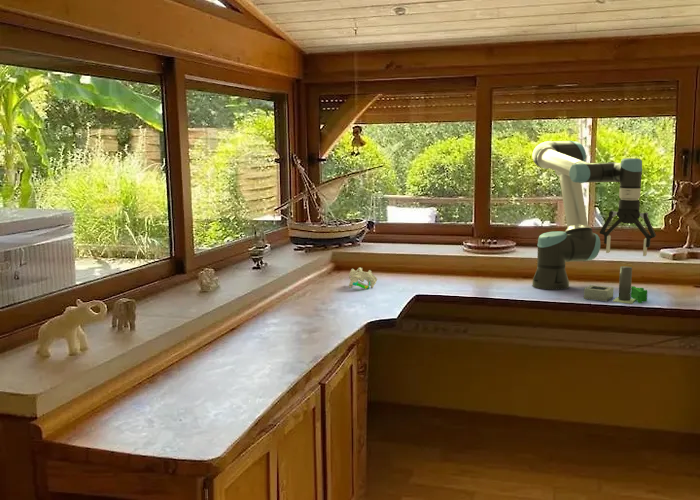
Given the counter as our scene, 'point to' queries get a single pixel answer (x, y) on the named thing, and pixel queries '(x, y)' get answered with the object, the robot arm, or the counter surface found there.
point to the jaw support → (362, 278)
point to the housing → (598, 293)
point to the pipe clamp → (638, 294)
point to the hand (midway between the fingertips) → (626, 254)
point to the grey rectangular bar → (625, 283)
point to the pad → (624, 301)
